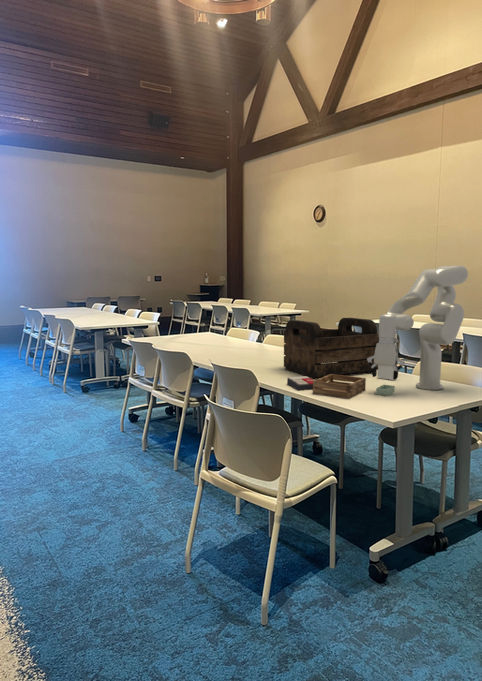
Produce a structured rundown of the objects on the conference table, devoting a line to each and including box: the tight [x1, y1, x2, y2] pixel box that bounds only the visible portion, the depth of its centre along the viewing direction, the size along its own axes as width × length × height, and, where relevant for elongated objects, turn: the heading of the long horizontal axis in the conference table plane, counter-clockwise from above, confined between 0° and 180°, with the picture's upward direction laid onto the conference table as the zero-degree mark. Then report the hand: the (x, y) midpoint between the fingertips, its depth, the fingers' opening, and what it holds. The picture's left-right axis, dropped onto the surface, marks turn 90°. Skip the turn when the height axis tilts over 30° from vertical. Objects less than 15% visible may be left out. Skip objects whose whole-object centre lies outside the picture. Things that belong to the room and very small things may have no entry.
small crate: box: [375, 384, 396, 397], centre depth 223 cm, size 10×5×3 cm, turn 145°
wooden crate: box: [283, 317, 379, 380], centre depth 277 cm, size 42×34×30 cm
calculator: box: [286, 375, 315, 392], centre depth 238 cm, size 11×4×15 cm
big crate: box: [312, 374, 367, 400], centre depth 226 cm, size 20×18×6 cm
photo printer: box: [377, 365, 397, 381], centre depth 255 cm, size 10×4×12 cm, turn 39°
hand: (384, 377), depth 222 cm, fingers open, 9 cm apart
